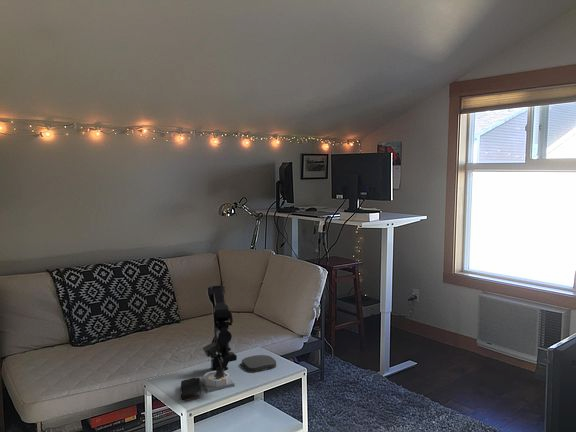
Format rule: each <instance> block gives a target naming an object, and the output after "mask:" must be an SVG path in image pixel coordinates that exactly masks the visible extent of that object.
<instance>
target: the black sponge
mask: <svg viewBox="0 0 576 432" xmlns="http://www.w3.org/2000/svg"><path fill="white" fill-rule="evenodd" d="M200 379H201V378H199V377H191V378H188V379H184V380H181V381H180V397H179V398H180V400H181V401H189V400H193V399H199V398H201V397H202V388H201V384H200Z"/></svg>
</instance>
